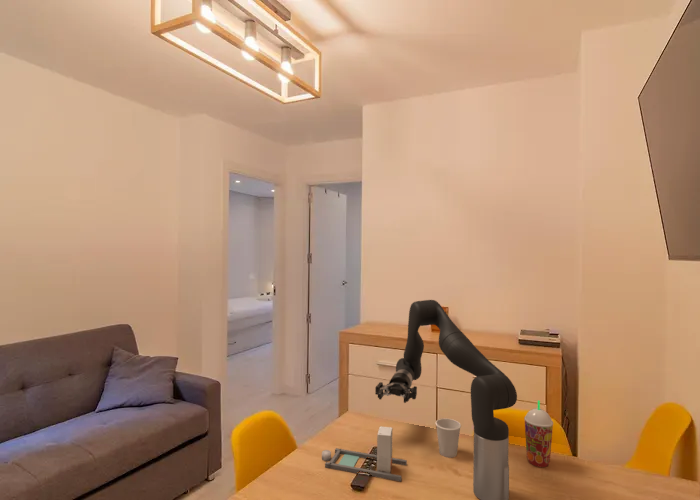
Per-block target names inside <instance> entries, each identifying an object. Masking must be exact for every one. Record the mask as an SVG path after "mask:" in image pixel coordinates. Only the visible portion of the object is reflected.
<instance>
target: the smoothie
mask: <svg viewBox="0 0 700 500" xmlns="http://www.w3.org/2000/svg"><path fill="white" fill-rule="evenodd" d="M553 427H554V421H553V420H552V418H551V416H550V414H549V413H548V412H547V411H545V410H544V409H542V408H541V401H540V400H537V407H536V408H532V409H530V410H529V411H527V413H526V415H525V416H524V431H525V446H526V449H525V450H526V452H525V453H526V458H527V459H528V463H529V464H531V465H532V466H535V467H538V468H546V467H548V465H549V464H550V462H551V455H552V454H551V451H552V440H553Z"/></svg>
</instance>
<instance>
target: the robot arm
mask: <svg viewBox="0 0 700 500" xmlns="http://www.w3.org/2000/svg"><path fill="white" fill-rule="evenodd" d="M408 312H409V313H408V324H407V338H406V344H405V348H404V351H403V357H402V358H399V359H398V361H397V362H396V366H395V373H393V375H392V377H391V379H390V380H389V382H388V383H387V384H384V383H383V382H381V381H380V382H378V383H377V385H376V386H375V389H374V390H375V392H374V393H375V395H376V396H377V398H378V400H382V399H383V398H384V396H387V397H389V396H392V395H393V396H394V395H395V397H396V396H397V397H401V398H403V403H404V404H406V403H407V402H409V401H410V400H411V399H412V400H416V398H417V395H418V387H417V386H415V385H414V386H413V387H412V385H413V381H417V380H418V379H419V378H420V377H421V375H422V356H423V353H424V350H425V349H424V348H425V346H424V345H425V343H424V340H423V338H422V336H421V335H420V332H419V329H420V327H425V326H426V327H427V326H433V325H434V326H436V327H437V328H438V330H439V335H438V345H439V349H440V350H441V352H442V353H443V354H444V356H445V357H446V358H447V360H449V362H451V363H452V365H455V366H456V367H458V368H459V369H462V370H464V372H467V373H469V374H471V375H473V376H475V377H474V378H473V379H472V382H471V384H470V405H471V406H470V407H471V411H470V412H471V421H472V425H473V466H472V467H473V472H472V473H473V477H472V478H473V483H472V486H473V488H472V489H473V491H472V492H473V493H474V495H475V498H478V499H479V500H510V465H509V453H510V452H509V449H510V448H509V447H510V446H509V445H510V444H509V443H510V442H509V441H510V440H509V438H510V436H509V435H510V434H509V433H510V432H509V429H510V428H509V426H508V424H507V422H505V421H504V420H502V419H501V418H498V417H495V414H494V411H498V410H503V409H508V408H511V407H513V406H514V405H515V404H516V403H517V401H518V394H517V392H518V391H517V390H516V386H515V384H513V382H512V380H511V379H510V378H509V377H508V376H507V375H506V374H505V373H504V372H503V371H502V370H500V369H499V368H498V367H497V366H496V365H495V364H494V363H492V362H491V361H490V360H489V359H488V358H487V357H486V356H485V355H484V354H483V353H482V352H481V351H480V350H479V348H477V347H476V346H475V345H474V343H473V342H472V341H471V340H470V339H469V338H468V337H467V335H465V333H464V332H462V331H461V329H460V328H458V326H457V324H455V322H454V321H452V319H451V317H450V316H449V315H448V314H447V312H446V311H445V309H444V308H443V307H442V305H441V304H440V303H439V302H438V301H437V300H435V299H424V300H418V301H417V300H416V301H413V302H412V303H411V305H410V307H409V311H408Z"/></svg>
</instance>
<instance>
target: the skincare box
mask: <svg viewBox="0 0 700 500" xmlns="http://www.w3.org/2000/svg"><path fill="white" fill-rule="evenodd" d="M376 439H377V440H376V444H377V445H376V455H377V460H376V471H378V472H384V473H389V474H392V473H391V471H392V466H393V463H392V458H393V427H391V426H379V428H378V431H377V436H376Z"/></svg>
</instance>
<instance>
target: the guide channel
mask: <svg viewBox="0 0 700 500" xmlns="http://www.w3.org/2000/svg"><path fill="white" fill-rule="evenodd" d="M341 455H342V457H341V458H340V461H339V462H338V463H336V462H337V460H338V459H339V457H340V456H341ZM367 457H375V458H377V454H371V453H366V452H362V451H355V450H349V449H342V448H337V447H336V448H335V449H334V454H333V456H332V451H331V450H329V449H325V450H322V451H321V460H322V461H325V463H324V468H327V469H331V470H337V471H342V472H347V473H353V474H358V473H357V472H359V471H363V472H368V473H370V474H371V475H372V476H371V477H375V478H379V479H386V480H390V481H395V482H400V483H401V482H402V475H399V474H393V473H390V474H389V473H384V472H378V471H377V470H371V469H367V468H361V467H355V465H356V464H357V462H358V461H359V459H360V458H362V459H366V458H367ZM407 461H408V460H407V459H401V458H397V457H396V458H395V457H392V464H393V465H394V464H395V465H399V466H400V465H401V466H407V463H408V462H407Z"/></svg>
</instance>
